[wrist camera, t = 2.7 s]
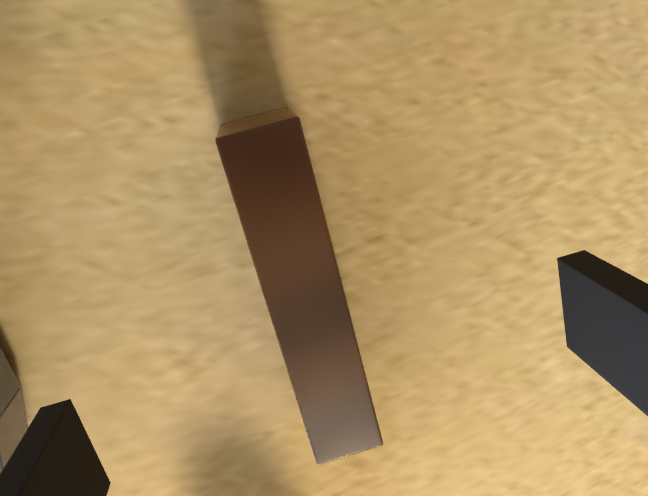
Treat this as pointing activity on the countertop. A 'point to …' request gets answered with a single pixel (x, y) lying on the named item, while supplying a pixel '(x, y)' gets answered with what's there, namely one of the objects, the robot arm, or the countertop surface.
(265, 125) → the stick
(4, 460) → the bowl
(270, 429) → the countertop surface
